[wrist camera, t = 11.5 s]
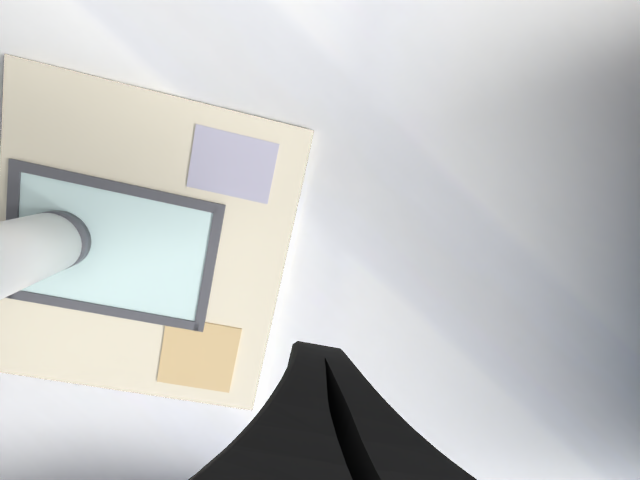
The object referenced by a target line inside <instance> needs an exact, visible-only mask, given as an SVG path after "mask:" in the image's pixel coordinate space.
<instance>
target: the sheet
mask: <svg viewBox="0 0 640 480" xmlns="http://www.w3.org/2000/svg"><path fill="white" fill-rule="evenodd" d="M313 134H314V131H313V130H309V129H305V128H301V127H297V126H293V125H289V124H285V123H281V122H277V121H273V120H269V119H265V118H261V117H257V116H253V115H249V114H245V113H241V112H237V111H233V110H229V109H225V108H221V107H217V106H213V105H209V104H205V103H201V102H197V101H193V100H189V99H185V98H181V97H177V96H173V95H169V94H165V93H161V92H156V91H152V90H148V89H144V88H140V87H136V86H132V85H128V84H124V83H120V82H116V81H112V80H108V79H104V78H100V77H96V76H92V75H88V74H84V73H80V72H76V71H72V70H68V69H64V68H60V67H56V66H52V65H48V64H44V63H40V62H36V61H32V60H28V59H24V58H20V57H16V56H12V55H8V54H4V75H3V100H2V125H1V151H0V221H5V220H10V219H15V218H20V217H25V216H29V215H34V214H38V213H42V212H47V211H52V210H62V211H67V212H69V213H72V214H74V215H75V216H77V217H78V218H80V219H81V220H82V221H83V222H84V223H85V225H86V226H87V228H88V230H89V232H90V235H91V248H90V251H89V253H88V255H87V256H86V258H85V259H84V260H82V261H81V262H80V263H78V264H76V265H74V266H72V267H69V268H67V269H65V270H62V271H60V272H58V273H56V274H54V275H52V276H49V277H47V278H45V279H43V280H41V281H39V282H37V283H35V284H33V285H31V286H28V287H26V288H24V289H22V290H20V291H18V292H16V293H14V294H12V295H9V296H7V297H5V298H3V299H1V300H0V373H7V374H13V375H20V376H26V377H33V378H40V379H46V380H53V381H60V382H66V383H73V384H79V385H86V386H93V387H99V388H106V389H113V390H119V391H126V392H132V393H139V394H146V395H152V396H159V397H165V398H172V399H179V400H185V401H192V402H199V403H205V404H212V405H218V406H225V407H232V408H238V409H245V410H251V411H252V410H253V405H254V401H255V396H256V391H257V387H258V382H259V378H260V373H261V369H262V364H263V360H264V355H265V351H266V346H267V342H268V337H269V333H270V328H271V324H272V319H273V315H274V310H275V306H276V301H277V297H278V292H279V288H280V283H281V279H282V274H283V269H284V265H285V260H286V256H287V251H288V247H289V242H290V238H291V233H292V229H293V224H294V220H295V215H296V211H297V206H298V202H299V197H300V193H301V188H302V184H303V179H304V175H305V170H306V166H307V161H308V157H309V152H310V147H311V143H312V138H313Z"/></svg>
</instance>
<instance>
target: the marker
mask: <svg viewBox="0 0 640 480" xmlns="http://www.w3.org/2000/svg"><path fill="white" fill-rule="evenodd" d="M90 248H91V235H90V232H89V230H88V228H87V226H86V225H85V223H84V222H83V221H82V220H81V219H80V218H78V217H77V216H75V215H74V214H72V213H69V212H67V211H62V210H52V211H47V212H42V213H38V214H34V215H29V216H25V217H20V218H15V219H10V220H5V221H0V300H1V299H3V298H5V297H7V296H9V295H12V294H14V293H16V292H18V291H20V290H22V289H24V288H26V287H28V286H31V285H33V284H35V283H37V282H39V281H41V280H43V279H45V278H47V277H49V276H52V275H54V274H56V273H58V272H60V271H62V270H65V269H67V268H69V267H72V266H74V265H76V264H78V263H80V262H81V261H82V260H84V259H85V258H86V256H87V255H88V253H89V251H90Z"/></svg>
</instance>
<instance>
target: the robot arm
mask: <svg viewBox="0 0 640 480" xmlns="http://www.w3.org/2000/svg"><path fill="white" fill-rule="evenodd" d="M189 480H476V479H475V478H474V477H472V476H471V475H470V474H468V473H467V472H466V471H464V470H463V469H462V468H460V467H459V466H458V465H456V464H455V463H454V462H452V461H451V460H450V459H448V458H447V457H446V456H445V455H443V454H442V453H441V452H440V451H438V450H437V449H436V448H435V447H434V446H433V445H431V444H430V443H429V442H428V441H427V440H426V439H424V438H423V437H422V436H421V435H420V434H419V433H418V432H416V431H415V430H414V429H413V428H412V427H411V426H410V425H409V424H408V423H407V422H406V421H405V420H404V419H403V418H402V417H401V416H400V415H399V414H398V413H397V412H396V411H395V410H394V409H393V408H392V407H391V406H390V405H389V404H388V403H387V402H386V401H385V400H384V399H383V398H382V397H381V395H380V394H379V393H378V392H377V391H376V390H375V389H374V388H373V386H372V385H371V384H370V383H369V382H368V381H367V379H366V378H365V377H364V376H363V375H362V374H361V372H360V371H359V370H358V369H357V367H356V366H355V365H354V364H353V363H352V361H351V360H350V359H349V358H348V357H347V355H346V354H345V353H344V352H343V351H342V350H341V349H339V348H334V347H328V346H322V345H317V344H311V343H305V342H300V341H297V342H296V343H294V344H293V346H292V350H291V354H290V358H289V362H288V367H287V369H286V371H285V373H284V375H283V377H282V379H281V380H280V382H279V384H278V385H277V387H276V388H275V390H274V392H273V393H272V395H271V396H270V398H269V399H268V401H267V402H266V403H265V405H264V406H263V407H262V409H261V410H260V411H259V413H258V414H257V415H256V416H255V417H254V419H253V420H252V421H251V422H250V423H249V424H248V425H247V427H246V428H245V429H244V430H243V431H242V432H241V433H240V434H239V435H238V436H237V437H236V438H235V439H234V440H233V441H232V442H231V443H230V444H229V445H228V446H227V447H226V448H225V449H224V450H223V451H222V452H221V453H220V454H218V455H217V456H216V457H215V458H214V459H213V460H211V461H210V462H209V463H208V464H207V465H206V466H204V467H203V468H202V469H201V470H200V471H199V472H198V473H196V474H195V475H194V476H192V477H191V478H190V479H189Z"/></svg>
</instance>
